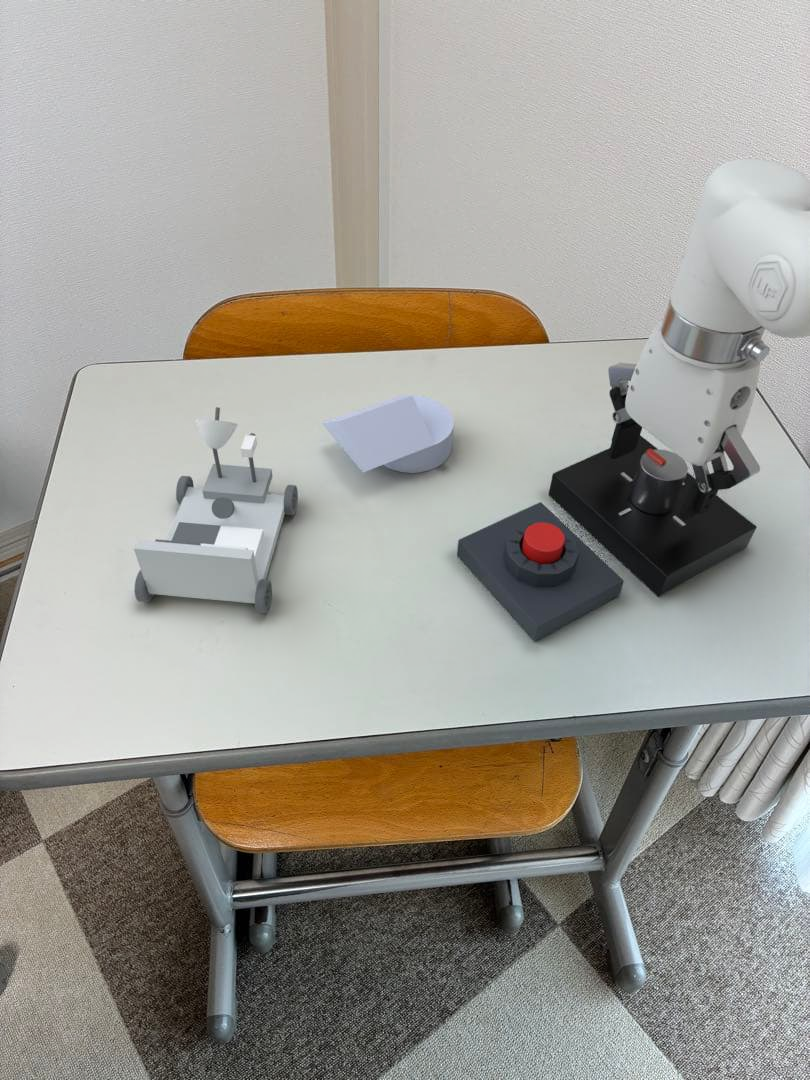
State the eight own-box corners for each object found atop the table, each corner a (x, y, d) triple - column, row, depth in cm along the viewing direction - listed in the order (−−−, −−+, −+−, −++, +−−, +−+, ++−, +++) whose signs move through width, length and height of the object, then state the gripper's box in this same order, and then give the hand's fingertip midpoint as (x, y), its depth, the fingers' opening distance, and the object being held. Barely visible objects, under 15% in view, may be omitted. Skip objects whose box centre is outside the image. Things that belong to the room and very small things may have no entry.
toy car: (177, 398, 76) (296, 407, 76) (194, 474, 84) (303, 483, 83) (111, 533, 64) (253, 545, 64) (138, 608, 71) (266, 620, 71)
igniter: (619, 596, 74) (629, 567, 71) (534, 642, 70) (541, 614, 67) (537, 517, 80) (543, 488, 78) (456, 555, 77) (459, 526, 74)
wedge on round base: (363, 496, 82) (467, 455, 87) (362, 446, 77) (472, 405, 82) (323, 447, 87) (423, 410, 92) (319, 397, 82) (425, 361, 87)
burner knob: (684, 504, 78) (698, 467, 74) (651, 520, 76) (664, 484, 73) (652, 478, 80) (664, 441, 77) (620, 493, 79) (631, 456, 75)
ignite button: (569, 554, 72) (573, 541, 71) (538, 570, 71) (541, 557, 70) (544, 530, 74) (547, 516, 73) (514, 544, 73) (516, 531, 72)
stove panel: (746, 547, 78) (757, 525, 76) (658, 597, 74) (667, 575, 71) (633, 455, 87) (640, 433, 85) (548, 494, 83) (552, 472, 80)
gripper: (830, 368, 61) (752, 523, 73) (667, 268, 70) (623, 420, 83) (763, 399, 58) (694, 554, 71) (603, 290, 68) (567, 444, 80)
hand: (655, 482), depth 77 cm, fingers open, 9 cm apart
